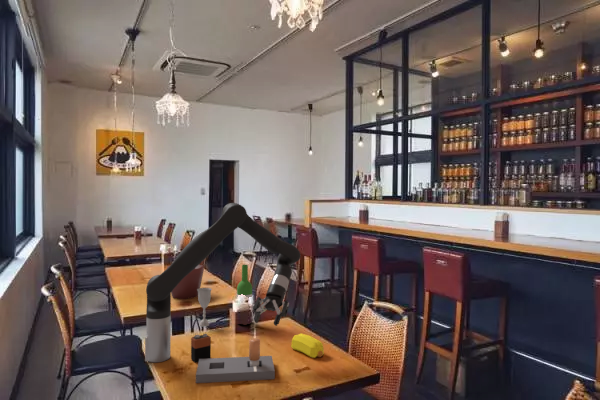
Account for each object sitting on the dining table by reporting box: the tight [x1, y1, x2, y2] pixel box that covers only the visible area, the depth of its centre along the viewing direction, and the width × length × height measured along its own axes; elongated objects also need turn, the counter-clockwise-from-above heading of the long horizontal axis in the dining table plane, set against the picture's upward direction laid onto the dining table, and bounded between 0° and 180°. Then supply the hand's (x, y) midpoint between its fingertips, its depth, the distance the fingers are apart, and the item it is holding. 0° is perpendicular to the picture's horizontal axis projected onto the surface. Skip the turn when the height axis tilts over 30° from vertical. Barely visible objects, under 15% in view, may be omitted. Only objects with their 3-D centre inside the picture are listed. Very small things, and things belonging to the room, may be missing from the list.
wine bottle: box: [236, 264, 253, 298], centre depth 216 cm, size 8×8×30 cm
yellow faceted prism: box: [290, 332, 325, 359], centre depth 180 cm, size 18×7×8 cm
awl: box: [248, 337, 261, 367], centre depth 160 cm, size 4×4×12 cm
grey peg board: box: [195, 355, 276, 384], centre depth 159 cm, size 28×14×3 cm, turn 98°
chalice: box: [197, 287, 213, 328], centre depth 213 cm, size 7×7×18 cm
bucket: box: [166, 264, 205, 300], centre depth 269 cm, size 24×22×25 cm
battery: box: [190, 333, 212, 363], centre depth 171 cm, size 4×7×10 cm, turn 126°
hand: (265, 323), depth 168 cm, fingers open, 8 cm apart
